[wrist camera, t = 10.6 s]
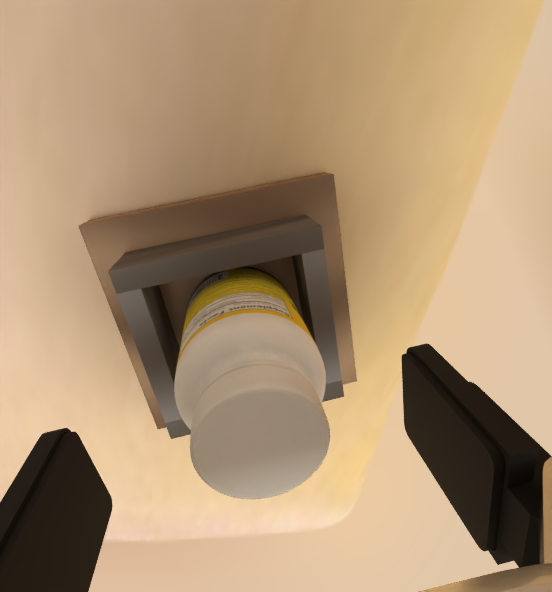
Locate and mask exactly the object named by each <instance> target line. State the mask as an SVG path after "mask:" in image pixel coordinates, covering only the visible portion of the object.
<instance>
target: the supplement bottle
mask: <svg viewBox="0 0 552 592" xmlns="http://www.w3.org/2000/svg"><path fill="white" fill-rule="evenodd" d="M325 387H326V372H325V367H324V363H323V359H322V357H321V354H320V352H319V350H318V347H317V345H316V343H315V342H314V340H313V338H312V336H311V334H310V332H309V331H308V329H307V327H306V325H305V323H304V321H303V319H302V317H301V316H300V314H299V312H298V310H297V308H296V306H295V305H294V303H293V301H292V299H291V297H290V295H289V293H288V292H287V290H286V289H285V287H284V286H283V284H282V283H281V282H280V281H279V280H278V279H277V278H276V277H275V276H274V275H272V274H271V273H269V272H268V271H266V270H264V269H262V268H259V267H256V266H252V265H248V266H243V267H239V268H234V269H230V270H225V271H220V272H216V273H211V274H208V275H207V276H206V277H205V278H204V279H203V280H201V282H200V283H199V284H198V285H197V286H196V288H195V289H194V291H193V293H192V295H191V297H190V300H189V303H188V306H187V312H186V318H185V323H184V329H183V335H182V341H181V346H180V352H179V357H178V362H177V368H176V375H175V383H174V392H175V400H176V405H177V408H178V411H179V413H180V416H181V418H182V419H183V421H184V422H185V424H186V425H187V426H188V428H189V429H190V430H191V439H190V453H191V459H192V463H193V465H194V468H195V469H196V471H197V473H198V474H199V476H200V477H201V478H202V480H203V481H204V482H205V483H206V484H208V485H209V486H210V487H212V488H213V489H215V490H216V491H218V492H220V493H222V494H225V495H227V496H231V497H235V498H240V499H263V498H269V497H273V496H277V495H280V494H283V493H286V492H288V491H290V490H292V489H294V488H296V487H297V486H299V485H301V484H302V483H303V482H305V481H306V480H307V479H308V478H309V477H311V476H312V475H313V473H314V472H315V471H316V470H317V469H318V468H319V466H320V465H321V463H322V461H323V460H324V458H325V456H326V453H327V450H328V447H329V441H330V429H329V424H328V420H327V417H326V415H325V412H324V410H323V407H322V405H321V403H322V400H323V397H324V393H325Z"/></svg>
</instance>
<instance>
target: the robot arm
mask: <svg viewBox="0 0 552 592" xmlns="http://www.w3.org/2000/svg"><path fill="white" fill-rule="evenodd" d="M402 379H403V404H404V425H405V430H406V432H407V435H408V436H409V438H410V440H411V441H412V443H413V445H414V446H415V448H416V449H417V451H418V452H419V454H420V455H421V457H422V459H423V460H424V462H425V463H426V465H427V467H428V468H429V470H430V471H431V473H432V474H433V476H434V478H435V479H436V481H437V482H438V484H439V485H440V487H441V489H442V490H443V492H444V493H445V495H446V496H447V498H448V500H449V501H450V503H451V504H452V506H453V507H454V509H455V510H456V512H457V514H458V515H459V517H460V518H461V520H462V522H463V523H464V525H465V526H466V528H467V529H468V531H469V532H470V534H471V536H472V537H473V539H474V540H475V542H476V543H477V545H478V546H479V548H480V549H481V550H483V551H487V550H488V551H489V552H490V554H491V555H492V556H493V558H494V560H495V561H496V563H497V564H498V565H499V564H502V563H506V562H510V561H515V562H516V564H517V565H518V567H519V568H516V569H510V570H505V571H500V572H496V573H492V574H488V575H484V576H480V577H476V578H471V579H468V580H463V581H459V582H456V583H451V584H447V585H444V586H439V587H435V588H431V589H427V590H424V591H420V592H552V456H551V455H549V453H547V452H546V451H545V450H544V449H543V448H542V447H541V446H540V445H539V444H538V443H537V442H536V441H535V440H534V439H533V438H532V437H530V435H529V434H528V433H526V432H525V431H524V430H523V429H522V428H521V427H520V426H519V425H518V424H517V423H516V422H515V421H514V420H513V419H512V418H511V417H510V416H509V415H508V414H507V413H506V412H504V411H503V410H502V409H501V408H500V407H499V406H498V405H497V404H496V403H495V402H494V401H493V400H492V399H491V398H490V397H489V396H488V395H487V394H485V392H483V391H482V390H481V389H480V388H479V387H478V386H477V385H476V384H474V383H472V382H468V381H467V380H466V379H465V378H464V377H463V376H461V375H460V374H459V372H457V371H456V370H455V369H454V368H453V367H452V366H451V365H450V364H449V363H448V362H447V361H446V360H445V359H444V358H443V357H442V356H441V355H440V354H439V353H438V352H437V351H436V350H435V349H434V348H433V347H432V346H431V345H429V344H423V345H419V346H414V347H410V348H408V349H407V354H403V355H402ZM111 511H112V499H111V496H110V494H109V492H108V490H107V488H106V486H105V484H104V483H103V481H102V479H101V477H100V475H99V473H98V471H97V469H96V467H95V466H94V464H93V462H92V460H91V458H90V456H89V454H88V452H87V451H86V449H85V447H84V445H83V443H82V441H81V439H80V437H79V435H78V434H77V433H76V432H71V431H70V430H69V429H68V428H64V429H59V430H55V431H51V432H47V433H44V434H42V435H41V436H40V438H39V439H38V441H37V443H36V444H35V446H34V448H33V449H32V451H31V453H30V454H29V456H28V458H27V459H26V461H25V463H24V464H23V466H22V468H21V469H20V471H19V472H18V474H17V476H16V477H15V479H14V481H13V482H12V484H11V486H10V487H9V489H8V491H7V492H6V494H5V496H4V497H3V499H2V501H1V502H0V592H88V591H89V587H90V584H91V580H92V577H93V573H94V570H95V566H96V563H97V560H98V556H99V553H100V549H101V546H102V542H103V539H104V535H105V532H106V529H107V525H108V522H109V518H110V515H111Z"/></svg>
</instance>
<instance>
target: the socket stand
mask: <svg viewBox="0 0 552 592" xmlns="http://www.w3.org/2000/svg"><path fill="white" fill-rule="evenodd" d="M79 229H80V231H81V234H82V236H83V239H84V241H85V244H86V247H87V249H88V252H89V254H90V257H91V259H92V262H93V264H94V267H95V270H96V272H97V275H98V277H99V280H100V282H101V285H102V287H103V290H104V293H105V295H106V298H107V300H108V303H109V305H110V308H111V310H112V313H113V316H114V318H115V321H116V323H117V326H118V328H119V331H120V334H121V336H122V339H123V341H124V344H125V346H126V349H127V351H128V354H129V357H130V359H131V362H132V364H133V367H134V369H135V372H136V374H137V377H138V380H139V382H140V385H141V387H142V390H143V392H144V395H145V398H146V400H147V403H148V405H149V408H150V410H151V413H152V415H153V418H154V421H155V423H156V426H157V428H158V429H161V428H165V427H167V429H168V432H169V434H170V437H171V439H173V438H177V437H181V436H185V435H189V434H191V430H190V429H189V428H188V426H187V425H186V424H185V422H184V421H183V419H182V418H181V416H180V413H179V411H178V408H177V405H176V400H175V392H174V383H175V375H176V368H177V362H178V357H179V352H180V346H181V341H182V335H183V329H184V323H185V318H186V312H187V306H188V303H189V300H190V297H191V295H192V293H193V291H194V289H195V288H196V286H197V285H198V284H199V283H200V282H201V280H203V279H204V278H205V277H206V276H207V275H208V274H211V273H216V272H220V271H225V270H230V269H234V268H239V267H243V266H248V265H252V266H256V267H259V268H262V269H264V270H266V271H268V272H269V273H271V274H272V275H274V276H275V277H276V278H277V279H278V280H279V281H280V282H281V283H282V284H283V286H284V287H285V289H286V290H287V292H288V293H289V295H290V297H291V299H292V301H293V303H294V305H295V306H296V308H297V310H298V312H299V314H300V316H301V317H302V319H303V321H304V323H305V325H306V327H307V329H308V331H309V332H310V334H311V336H312V338H313V340H314V342H315V343H316V345H317V347H318V350H319V352H320V354H321V357H322V359H323V363H324V367H325V372H326V387H325V393H324V397H323V400H322V402H324V401H328V400H332V399H336V398H340V397H344V392H343V385H342V384H346V383H350V382H354V381H357V378H356V369H355V360H354V352H353V343H352V334H351V325H350V316H349V307H348V299H347V290H346V281H345V272H344V263H343V254H342V245H341V237H340V228H339V219H338V210H337V201H336V192H335V183H334V175H333V174H330V173H321V174H316V175H311V176H306V177H301V178H296V179H291V180H286V181H281V182H276V183H271V184H266V185H261V186H257V187H252V188H247V189H242V190H237V191H232V192H227V193H222V194H217V195H212V196H207V197H202V198H197V199H192V200H187V201H182V202H178V203H173V204H168V205H163V206H158V207H153V208H148V209H143V210H138V211H133V212H128V213H123V214H118V215H113V216H108V217H103V218H99V219H94V220H89V221H87V222H85V223H83V224H81V225H80V226H79Z"/></svg>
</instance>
